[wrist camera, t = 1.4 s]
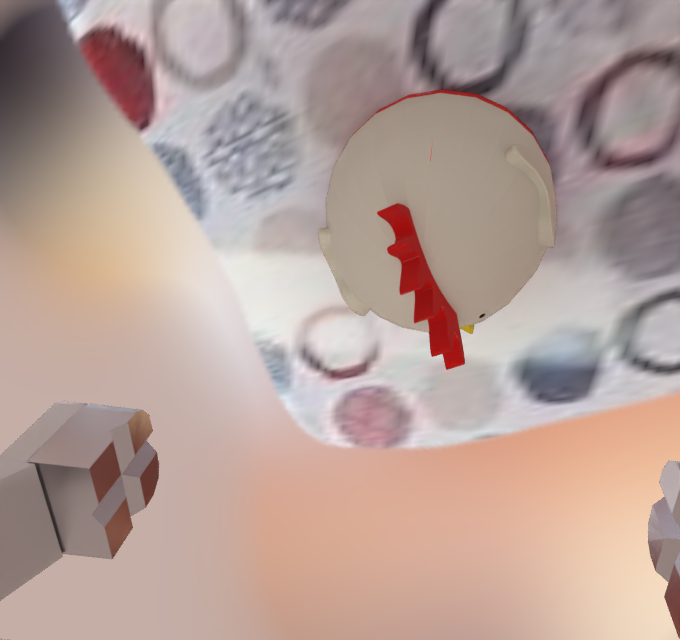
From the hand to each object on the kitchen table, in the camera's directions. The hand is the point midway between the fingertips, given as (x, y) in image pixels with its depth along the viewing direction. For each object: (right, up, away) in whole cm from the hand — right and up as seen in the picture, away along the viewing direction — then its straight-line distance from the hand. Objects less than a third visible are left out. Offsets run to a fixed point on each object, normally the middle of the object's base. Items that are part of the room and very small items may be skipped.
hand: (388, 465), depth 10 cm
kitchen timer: (+6, +10, +30) cm, 32 cm away
